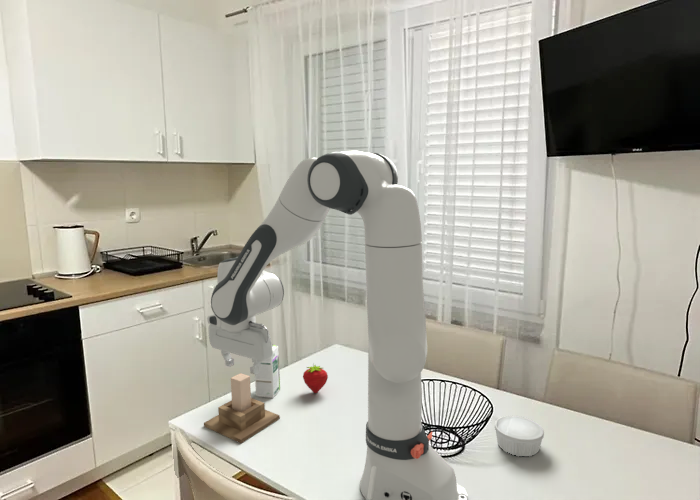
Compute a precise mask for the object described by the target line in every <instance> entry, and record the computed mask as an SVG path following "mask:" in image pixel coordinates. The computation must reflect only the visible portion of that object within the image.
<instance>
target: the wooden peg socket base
mask: <svg viewBox="0 0 700 500" xmlns="http://www.w3.org/2000/svg"><path fill="white" fill-rule="evenodd" d="M265 407H266V405H265V402H262V400H257V399H255V398H252V397H251V407H250V408H248V409H246V410H245V411H243V412H238V411H236V410H234V409H232V399H231V400H229V401H228V402H226V403H224V404H222V405H220V406H218V407H217V408H218V409H217V410H218V415H215V416H213V417H212V418H210V419H208V420H207V421H205V422H203V427H204V428H206V429H209V430H211V431H213V432H215V433H217V434H219V435H222V436H224V437H226V438H229V439H231V440H233V441H235V442H237V443H238V444H243V443H244V442H246V441H248V440H249V439H250V438H252V437H254V436H255V435H257V434H258V433H260V432H261V431H263V430H265V429H266V428H267V427H270V426H271V425H272V424H273V423H276V422H277V421H279V420H280V418H281V416H280V414H277V413H275V412H272V411H270V410H267V409H266V408H265Z"/></svg>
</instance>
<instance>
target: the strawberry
mask: <svg viewBox="0 0 700 500" xmlns="http://www.w3.org/2000/svg"><path fill="white" fill-rule="evenodd" d="M302 378H303V381H304V384H305V385H306V387H308V388H309V390H311V392H312V393H314V394H317V393H319V392H320V390H321V389H323V387H324V386H325V384H326V383H327V381H328V378H329V375H328V372H327V371H326V370H324V368H323V367H321V365H316V364H315V363H313V364H312V366H306V370H305V371H304V372H303V376H302Z"/></svg>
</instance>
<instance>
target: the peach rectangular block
mask: <svg viewBox="0 0 700 500" xmlns="http://www.w3.org/2000/svg"><path fill="white" fill-rule="evenodd" d="M251 389H252V388H251V376H250V375H247V374H244V373H241V372H240V373H238V374H236V375H234V376H232V377H230V391H231V393H230V394H231V400H232V409H234V410H236V411H238V412H243V411H245V410H246V409H248V408H250V407H251V398H252V396H251V395H252V393H251V392H252V391H251Z"/></svg>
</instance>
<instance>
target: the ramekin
mask: <svg viewBox="0 0 700 500" xmlns="http://www.w3.org/2000/svg"><path fill="white" fill-rule="evenodd" d="M494 430H495V436H496V441H497V444H498V447H500V448H502V449H503V450H502V449H501V450H502V451H504V452H505V451H506V452H505V453H507V452H508V453H507V454H509V453H510V454H509V455H511V454H512V455H511V456H514V455H516V456H515V457H519V456H529V457H532V455H533V456H534V455H536V454H537V453H538V452H539V450H540V448H541V444H542V440H543V438H544V436H545V430H544V428H543V426H542V425H541V424H539V423H538V422H536V421H534V420H532V419H531V418H528V417H525V416H519V415H505V416H501V417H499V418H497V419H496V420H495V421H494Z"/></svg>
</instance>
